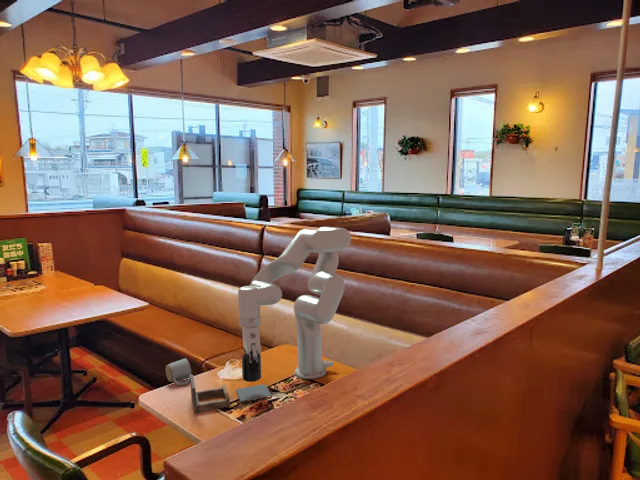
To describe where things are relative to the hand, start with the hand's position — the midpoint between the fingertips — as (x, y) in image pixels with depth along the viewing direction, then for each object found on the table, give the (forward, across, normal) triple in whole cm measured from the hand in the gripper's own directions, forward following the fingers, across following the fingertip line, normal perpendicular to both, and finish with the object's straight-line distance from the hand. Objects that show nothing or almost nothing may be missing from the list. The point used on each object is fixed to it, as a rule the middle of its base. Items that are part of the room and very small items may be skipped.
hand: (251, 368), depth 170 cm
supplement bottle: (+4, 0, 0) cm, 4 cm away
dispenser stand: (+10, -1, +15) cm, 18 cm away
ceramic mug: (+10, +23, +24) cm, 35 cm away
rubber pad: (+10, 0, 0) cm, 10 cm away
